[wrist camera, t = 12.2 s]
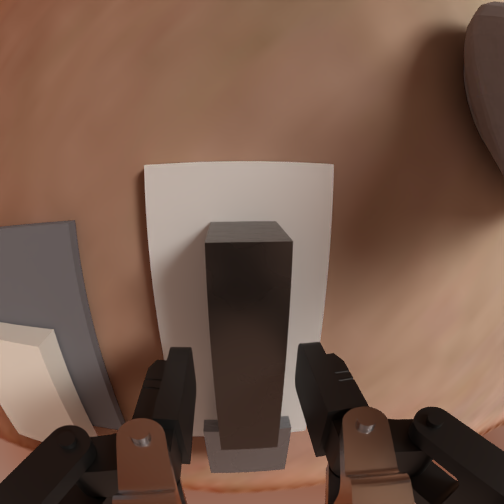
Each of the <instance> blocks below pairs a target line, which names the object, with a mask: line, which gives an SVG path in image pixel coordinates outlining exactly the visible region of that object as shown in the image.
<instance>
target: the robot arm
mask: <svg viewBox="0 0 504 504" xmlns="http://www.w3.org/2000/svg"><path fill="white" fill-rule="evenodd" d="M295 388H296V392H297V395H298V399H299V402H300V405H301V409H302V412H303V415H304V419H305V422H306V425H307V429H308V432H309V435H310V439H311V442H312V445H313V448H314V452H315V455H316V457H319V456H325V455H326V457H327V460H328V465H327V468H326V489H325V504H415V503H416V504H504V451H502V450H501V449H499V448H498V447H496V446H495V445H494V444H492V443H491V442H489V441H488V440H486V439H485V438H484V437H482V436H481V435H479V434H478V433H476V432H475V431H473V430H472V429H471V428H469V427H468V426H466V425H465V424H463V423H462V422H461V421H459V420H458V419H456V418H455V417H454V416H452V415H451V414H449V413H448V412H446V411H445V410H443V409H441V408H438V407H426V408H423V409H421V410H419V411H418V412H417V413H416V415H415V417H414V419H400V420H395V419H387V417H386V416H385V415H384V413H382V412H381V411H379V410H378V409H375V408H372V407H369V406H368V404H367V402H366V400H365V398H364V397H363V395H362V393H361V391H360V389H359V387H358V386H357V384H356V382H355V380H353V377H352V375H351V373H350V372H349V370H348V368H347V366H346V364H345V362H344V361H343V360H342V359H341V358H339V357H338V356H337V355H335V354H334V353H333V354H326V353H325V351H324V349H323V347H322V345H321V343H320V342H310V343H299V345H298V351H297V361H296V370H295ZM195 403H196V377H195V369H194V362H193V354H192V348H191V347H170V350H169V354H168V358H167V360H156V361H155V362H154V363H153V364H152V365H151V366H150V367H149V368H148V371H147V374H146V377H145V380H144V383H143V386H142V389H141V392H140V396H139V399H138V402H137V405H136V408H135V412H134V415H133V418H132V420H130V421H127V422H126V423H124V424H123V425H122V426H121V427H120V428H119V430H118V431H117V433H116V434H112V435H105V436H95V437H90V436H89V435H88V433H87V432H86V431H85V430H84V429H83V428H81V427H79V426H75V425H65V426H62V427H59V428H57V429H56V430H54V431H53V432H52V433H51V434H50V435H49V436H48V437H47V438H46V439H45V440H44V441H43V442H42V443H41V444H40V445H39V446H38V447H37V448H36V449H35V450H34V451H33V452H32V453H31V454H30V455H29V456H28V457H27V458H26V459H25V460H24V461H23V462H22V463H21V464H19V465H18V467H17V468H15V470H13V472H11V473H10V474H9V475H8V476H7V477H6V479H4V480H3V481H2V482H1V483H0V504H187V501H186V497H185V494H184V490H183V486H182V482H181V478H180V475H181V464H190V461H191V448H192V436H193V424H194V413H195ZM432 460H435V461H436V462H437V463H438V464H440V465H441V466H442V467H443V468H445V469H446V470H447V471H448V472H450V473H451V474H452V475H453V476H455V477H456V478H457V480H458V481H456V480H454V479H453V478H452V477H451V476H449V475H448V474H447V473H446V472H444V471H443V470H442V469H441V468H439V467H438V466H437V465H436V464H434V463H433V462H432Z"/></svg>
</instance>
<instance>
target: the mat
mask: <svg viewBox="0 0 504 504" xmlns="http://www.w3.org/2000/svg"><path fill="white" fill-rule="evenodd" d="M0 322H3V323H9V324H16V325H22V326H30V327H38V328H46V329H54V332H55V335H56V338H57V341H58V344H59V347H60V350H61V353H62V356H63V359H64V361H65V364H66V367H67V369H68V372H69V375H70V377H71V380H72V382H73V384H74V387H75V389H76V392H77V394H78V396H79V398H80V401H81V403H82V405H83V407H84V409H85V411H86V414H87V416H88V418H89V420H90V422H91V424H92V426H98V427H104V428H110V429H116V430H119V428H120V427H121V426H122V425H123V424H124V423H125V421H124V418H123V416H122V413H121V410H120V408H119V405H118V403H117V400H116V397H115V394H114V392H113V389H112V386H111V383H110V380H109V377H108V374H107V371H106V368H105V365H104V361H103V358H102V355H101V351H100V348H99V344H98V341H97V337H96V333H95V329H94V325H93V321H92V317H91V313H90V309H89V304H88V300H87V295H86V290H85V285H84V280H83V274H82V268H81V262H80V256H79V249H78V242H77V234H76V225H75V220H73V221H60V222H47V223H35V224H24V225H14V226H4V227H0Z"/></svg>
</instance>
